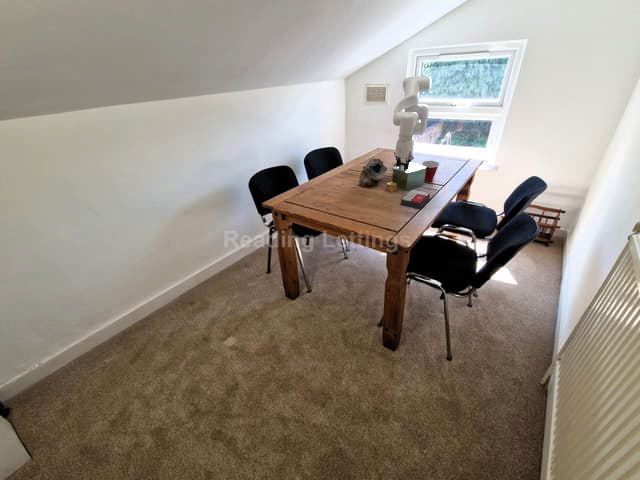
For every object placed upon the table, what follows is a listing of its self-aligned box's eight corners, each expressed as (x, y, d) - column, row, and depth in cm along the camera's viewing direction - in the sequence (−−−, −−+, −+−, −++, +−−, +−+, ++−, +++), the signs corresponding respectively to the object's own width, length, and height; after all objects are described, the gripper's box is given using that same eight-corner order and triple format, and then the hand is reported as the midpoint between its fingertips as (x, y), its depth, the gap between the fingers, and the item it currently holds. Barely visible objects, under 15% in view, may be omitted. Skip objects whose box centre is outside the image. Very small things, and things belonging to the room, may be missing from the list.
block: (385, 190, 179) (386, 183, 176) (391, 188, 180) (391, 181, 178) (390, 192, 175) (391, 185, 173) (396, 190, 177) (396, 183, 175)
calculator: (401, 198, 158) (411, 188, 167) (400, 205, 160) (411, 195, 170) (420, 203, 152) (430, 192, 162) (419, 210, 154) (429, 198, 164)
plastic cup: (418, 182, 186) (420, 164, 180) (420, 177, 194) (423, 159, 188) (435, 184, 182) (438, 166, 175) (437, 179, 190) (440, 161, 184)
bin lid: (407, 174, 170) (408, 165, 167) (392, 168, 179) (393, 160, 176) (426, 168, 177) (427, 160, 174) (411, 163, 186) (412, 155, 183)
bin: (406, 190, 176) (408, 174, 170) (391, 184, 185) (393, 168, 179) (423, 185, 182) (426, 168, 177) (409, 179, 192) (411, 163, 186)
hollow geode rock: (379, 180, 205) (367, 163, 205) (393, 170, 196) (380, 153, 196) (361, 193, 186) (348, 174, 185) (375, 182, 176) (361, 163, 176)
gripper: (390, 136, 169) (387, 165, 179) (412, 141, 157) (408, 172, 166) (399, 134, 173) (396, 163, 182) (421, 139, 160) (417, 170, 169)
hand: (402, 167), depth 174 cm, fingers open, 6 cm apart
